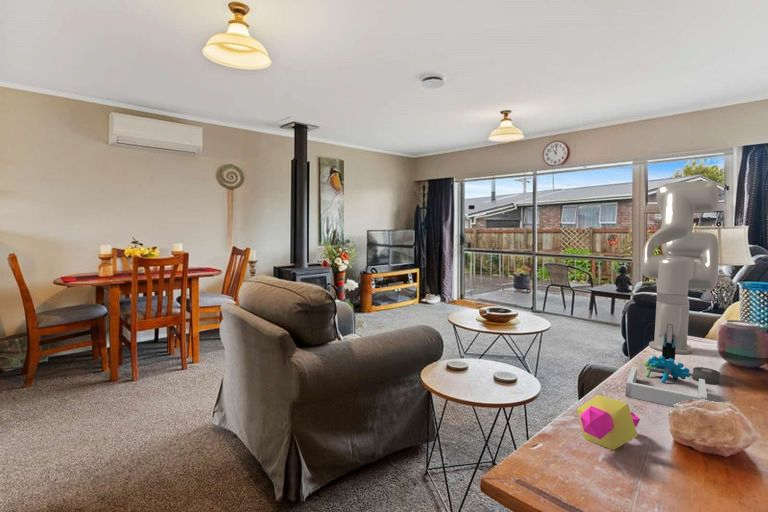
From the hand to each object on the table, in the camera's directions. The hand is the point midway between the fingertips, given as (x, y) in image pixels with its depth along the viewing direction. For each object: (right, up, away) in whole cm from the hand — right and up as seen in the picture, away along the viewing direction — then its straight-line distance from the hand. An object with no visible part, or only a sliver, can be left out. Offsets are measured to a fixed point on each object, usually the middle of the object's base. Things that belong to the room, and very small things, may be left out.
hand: (668, 358), depth 122 cm
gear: (-5, -5, -7) cm, 10 cm away
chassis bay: (-13, -5, -17) cm, 21 cm away
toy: (-41, -7, -40) cm, 58 cm away
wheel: (+6, -4, -7) cm, 10 cm away
